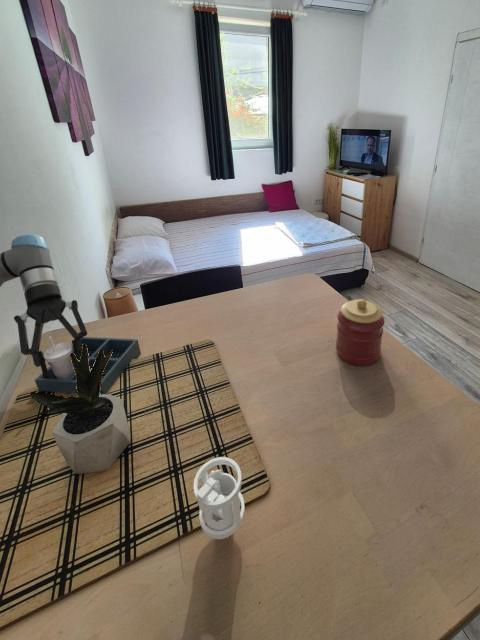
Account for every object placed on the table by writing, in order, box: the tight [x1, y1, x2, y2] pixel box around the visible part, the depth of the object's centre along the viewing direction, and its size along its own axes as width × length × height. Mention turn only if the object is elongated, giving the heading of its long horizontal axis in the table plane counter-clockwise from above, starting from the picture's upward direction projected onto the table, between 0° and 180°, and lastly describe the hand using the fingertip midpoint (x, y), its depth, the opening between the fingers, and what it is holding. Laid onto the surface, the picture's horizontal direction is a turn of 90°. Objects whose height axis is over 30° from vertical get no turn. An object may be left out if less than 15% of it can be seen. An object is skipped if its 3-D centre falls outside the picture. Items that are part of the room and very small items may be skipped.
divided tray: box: [34, 336, 142, 395], centre depth 88 cm, size 17×17×5 cm
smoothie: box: [43, 335, 75, 380], centre depth 83 cm, size 6×6×14 cm
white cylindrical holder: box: [193, 456, 246, 540], centre depth 51 cm, size 7×7×15 cm
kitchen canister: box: [335, 298, 385, 367], centre depth 93 cm, size 13×13×18 cm
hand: (63, 371), depth 81 cm, fingers open, 6 cm apart
